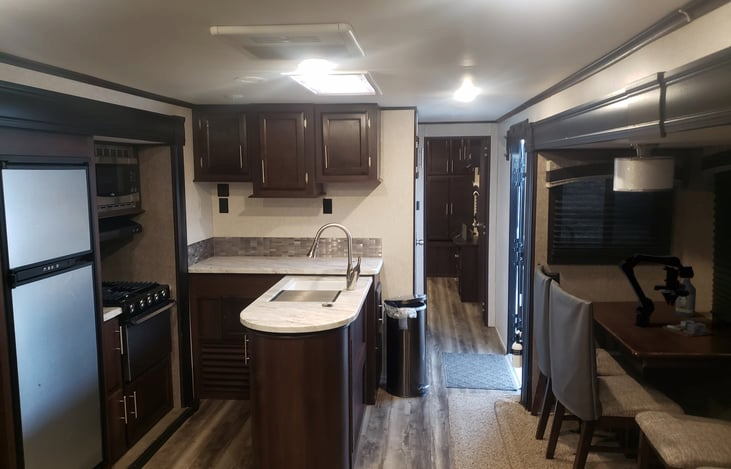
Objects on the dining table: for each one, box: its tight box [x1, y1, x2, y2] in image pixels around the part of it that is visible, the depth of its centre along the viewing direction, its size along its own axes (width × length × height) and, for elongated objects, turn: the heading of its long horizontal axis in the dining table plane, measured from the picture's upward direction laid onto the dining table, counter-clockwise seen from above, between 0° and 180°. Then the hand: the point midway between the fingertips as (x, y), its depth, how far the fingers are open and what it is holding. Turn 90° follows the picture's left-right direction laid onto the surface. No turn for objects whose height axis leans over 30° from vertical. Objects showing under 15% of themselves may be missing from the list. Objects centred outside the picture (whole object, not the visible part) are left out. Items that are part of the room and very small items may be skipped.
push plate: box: [677, 319, 695, 330], centre depth 287 cm, size 10×3×4 cm, turn 107°
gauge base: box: [662, 322, 709, 338], centre depth 288 cm, size 14×16×6 cm
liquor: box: [674, 278, 697, 318], centre depth 321 cm, size 9×9×30 cm
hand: (670, 305), depth 298 cm, fingers closed
